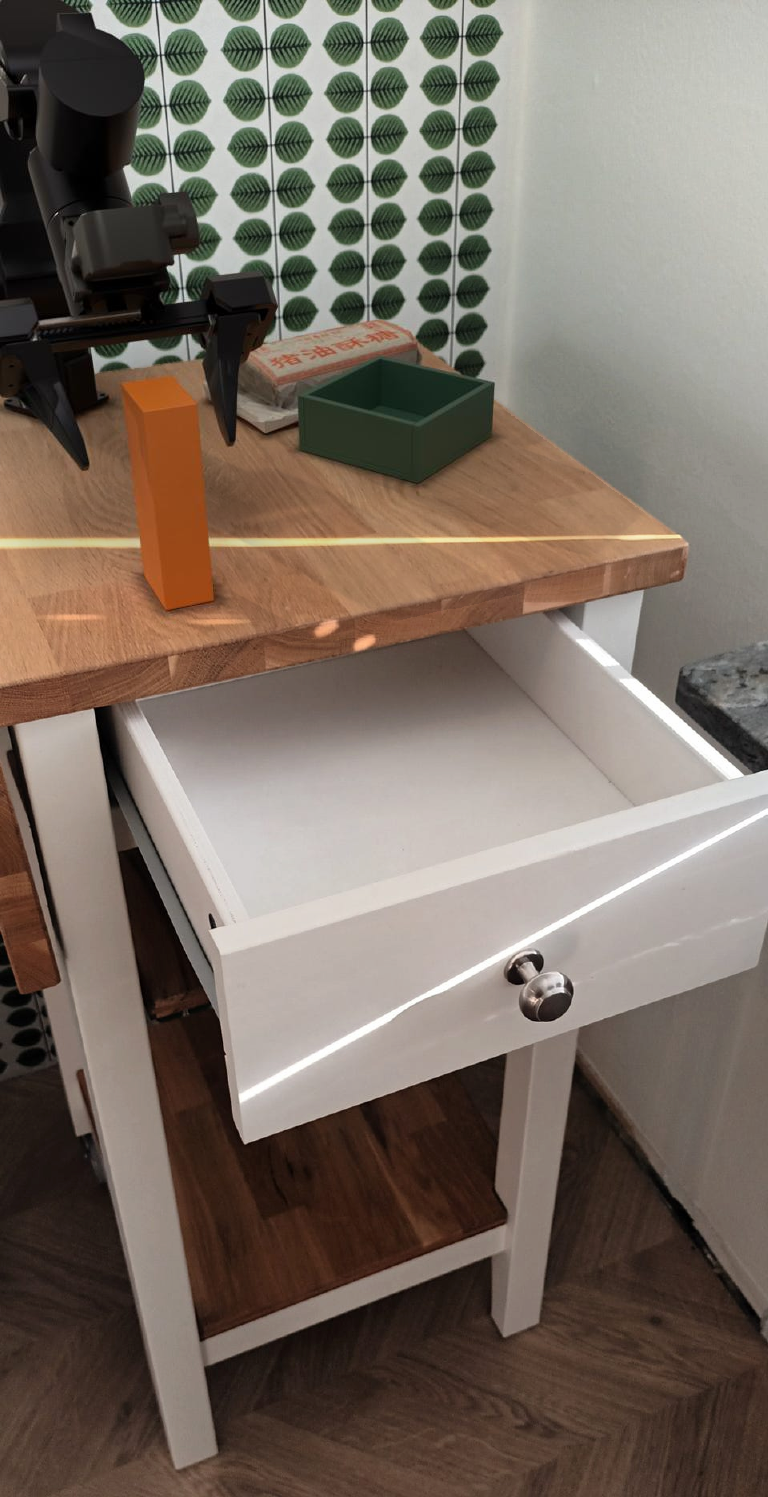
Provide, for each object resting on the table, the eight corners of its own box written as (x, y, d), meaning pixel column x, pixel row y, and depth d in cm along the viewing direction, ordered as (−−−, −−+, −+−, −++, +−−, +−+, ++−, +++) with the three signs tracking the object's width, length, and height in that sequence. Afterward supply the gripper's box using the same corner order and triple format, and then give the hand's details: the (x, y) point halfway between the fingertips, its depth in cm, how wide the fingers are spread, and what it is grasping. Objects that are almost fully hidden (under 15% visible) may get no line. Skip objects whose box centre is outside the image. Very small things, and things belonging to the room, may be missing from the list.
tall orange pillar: (144, 576, 82) (120, 382, 74) (190, 566, 83) (172, 375, 75) (165, 611, 78) (143, 411, 71) (214, 600, 79) (197, 403, 72)
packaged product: (370, 306, 113) (439, 335, 107) (370, 359, 116) (437, 390, 110) (197, 344, 104) (261, 378, 98) (202, 400, 107) (264, 437, 101)
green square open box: (299, 450, 99) (297, 395, 96) (378, 407, 106) (378, 355, 104) (418, 483, 94) (419, 426, 91) (492, 436, 101) (495, 382, 99)
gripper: (-67, 154, 67) (8, 421, 66) (259, 129, 74) (334, 372, 72) (-59, 269, 78) (5, 501, 76) (225, 238, 84) (291, 452, 82)
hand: (160, 455), depth 76 cm, fingers open, 9 cm apart
